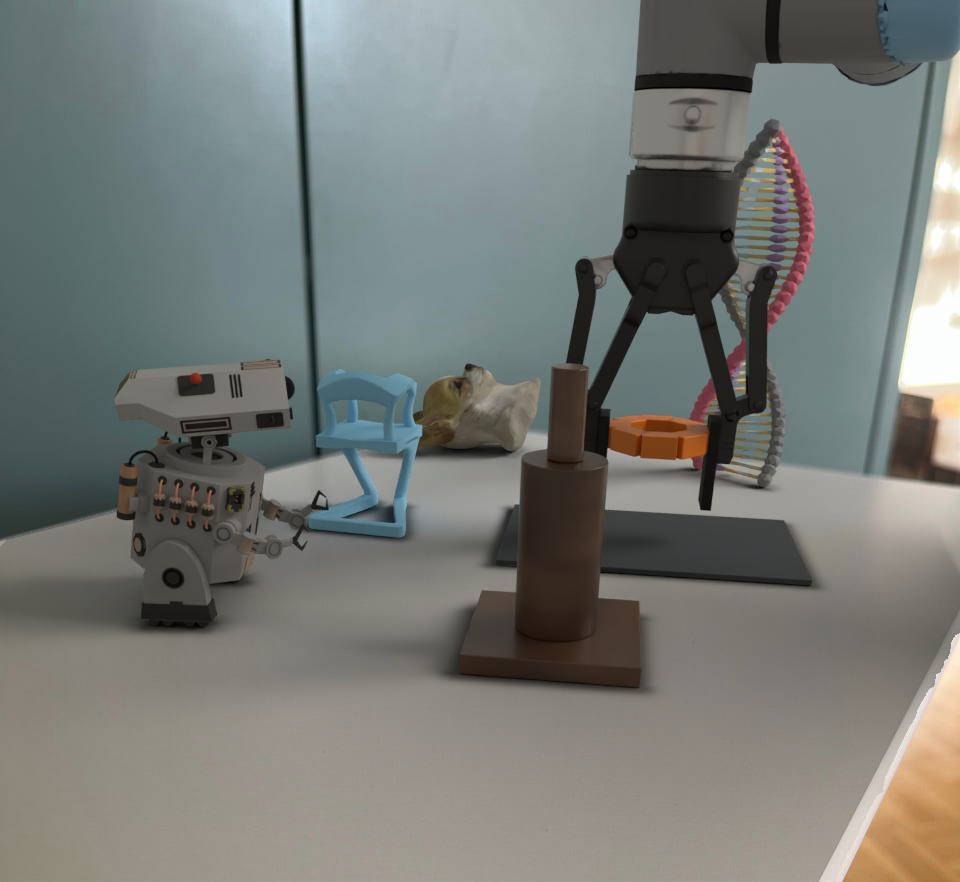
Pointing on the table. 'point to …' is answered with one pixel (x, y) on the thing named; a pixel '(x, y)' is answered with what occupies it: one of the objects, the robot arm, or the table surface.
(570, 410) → the ring stand
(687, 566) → the rubber mat
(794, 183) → the dna model
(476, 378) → the toy dog
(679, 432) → the orange ring
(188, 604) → the figurine
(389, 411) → the chair
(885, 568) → the table surface
